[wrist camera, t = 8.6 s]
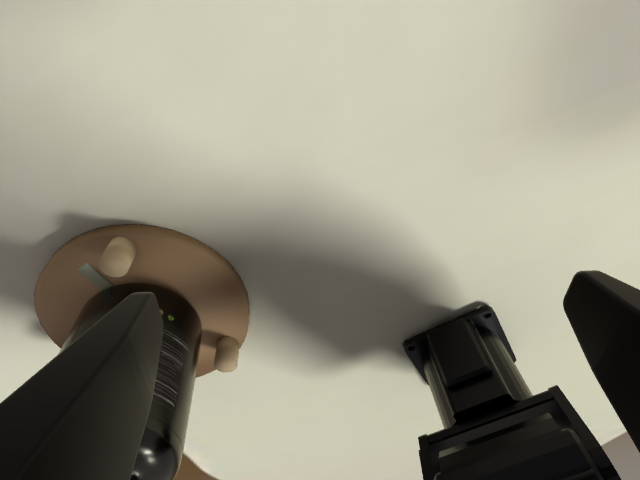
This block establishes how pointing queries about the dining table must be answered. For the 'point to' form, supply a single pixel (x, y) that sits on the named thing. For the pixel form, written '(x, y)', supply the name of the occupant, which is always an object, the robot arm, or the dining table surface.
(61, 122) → the dining table surface
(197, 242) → the dowel base
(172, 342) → the supplement bottle
